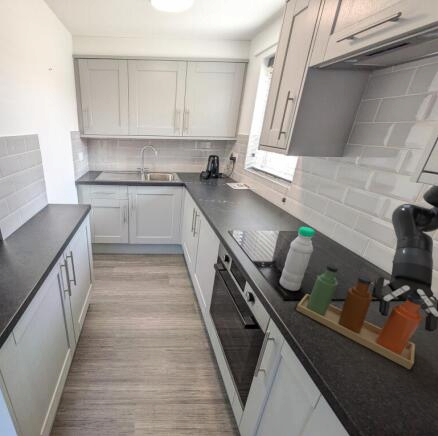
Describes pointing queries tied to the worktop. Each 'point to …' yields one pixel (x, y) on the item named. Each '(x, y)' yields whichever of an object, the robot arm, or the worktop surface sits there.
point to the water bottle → (297, 260)
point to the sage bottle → (323, 291)
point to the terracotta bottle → (401, 325)
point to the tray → (363, 337)
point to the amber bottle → (356, 305)
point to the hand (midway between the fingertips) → (406, 322)
